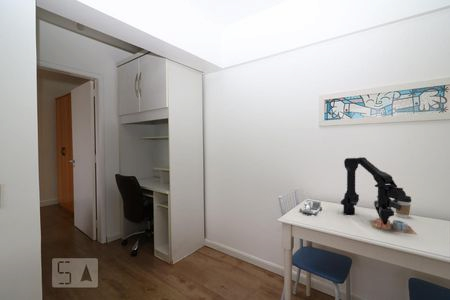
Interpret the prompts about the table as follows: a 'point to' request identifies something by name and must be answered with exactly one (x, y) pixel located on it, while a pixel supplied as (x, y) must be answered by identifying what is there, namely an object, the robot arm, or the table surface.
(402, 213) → the coffee cup
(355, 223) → the table surface
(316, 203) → the phone holder
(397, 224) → the gear
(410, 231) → the gear board
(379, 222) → the gear
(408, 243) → the table surface
